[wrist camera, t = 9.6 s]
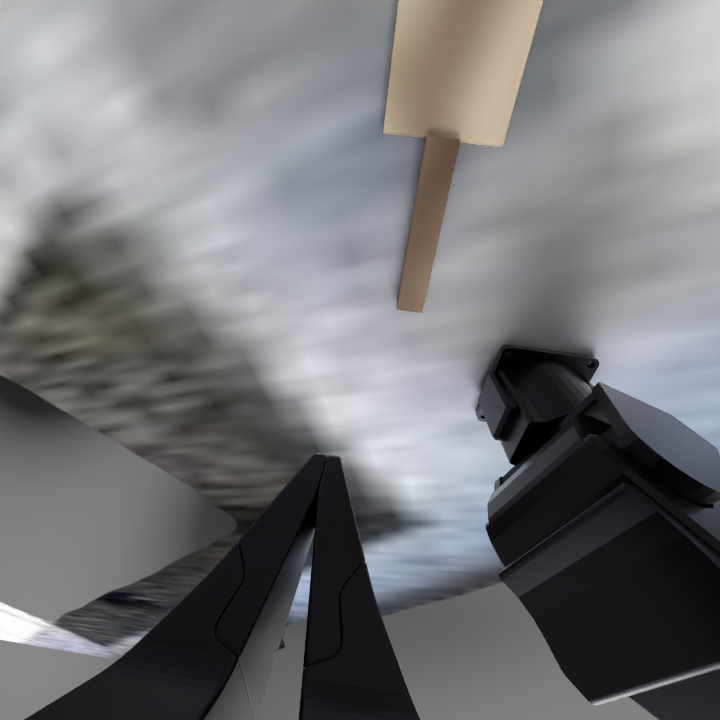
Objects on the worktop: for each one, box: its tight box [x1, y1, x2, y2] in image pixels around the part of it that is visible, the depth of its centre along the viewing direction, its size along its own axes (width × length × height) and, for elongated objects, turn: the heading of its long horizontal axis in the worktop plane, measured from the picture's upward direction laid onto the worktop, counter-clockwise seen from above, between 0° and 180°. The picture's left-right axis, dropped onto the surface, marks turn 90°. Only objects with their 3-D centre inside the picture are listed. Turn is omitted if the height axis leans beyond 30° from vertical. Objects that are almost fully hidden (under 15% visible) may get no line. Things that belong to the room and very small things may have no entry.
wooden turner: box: [383, 0, 543, 313], centre depth 16 cm, size 6×16×1 cm, turn 174°
